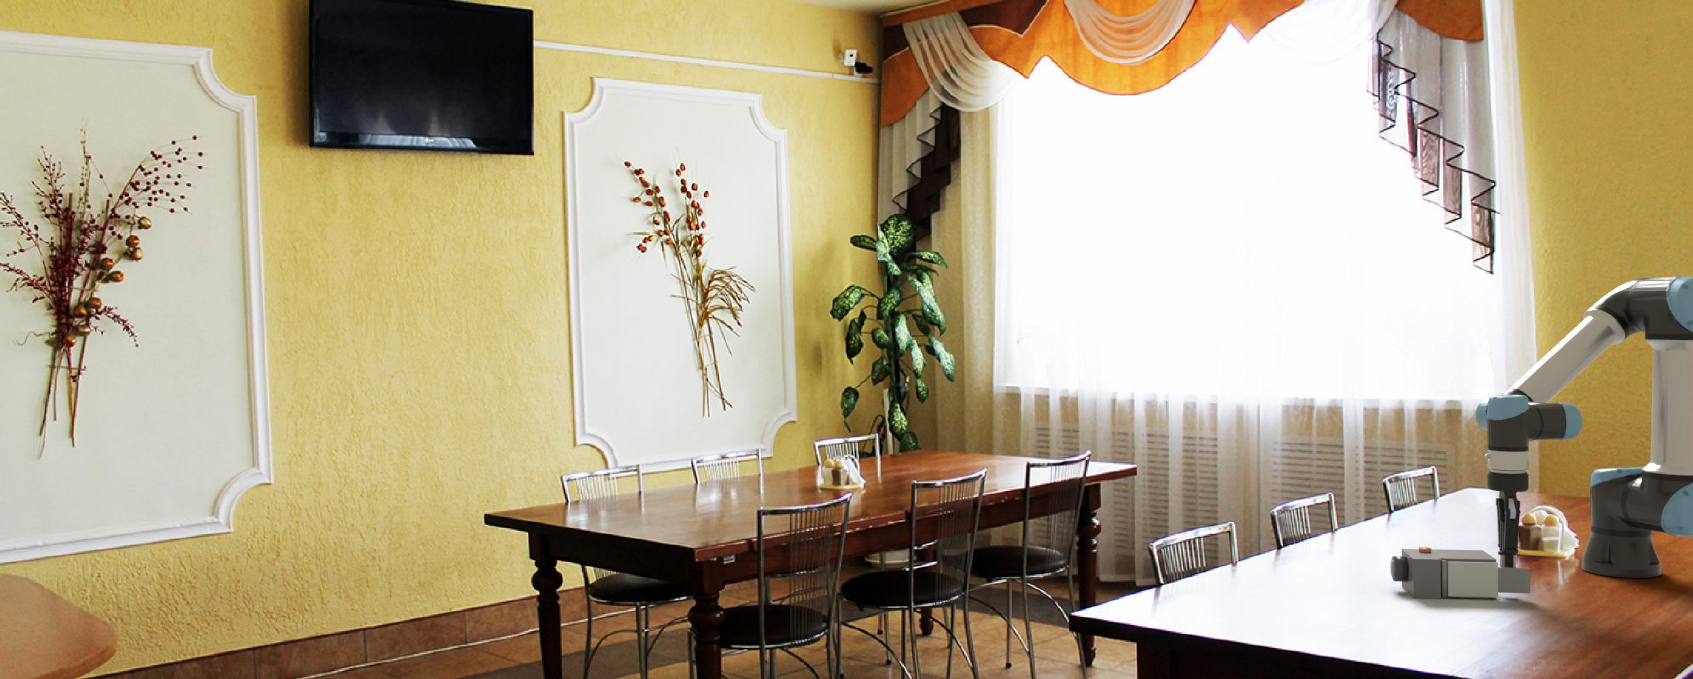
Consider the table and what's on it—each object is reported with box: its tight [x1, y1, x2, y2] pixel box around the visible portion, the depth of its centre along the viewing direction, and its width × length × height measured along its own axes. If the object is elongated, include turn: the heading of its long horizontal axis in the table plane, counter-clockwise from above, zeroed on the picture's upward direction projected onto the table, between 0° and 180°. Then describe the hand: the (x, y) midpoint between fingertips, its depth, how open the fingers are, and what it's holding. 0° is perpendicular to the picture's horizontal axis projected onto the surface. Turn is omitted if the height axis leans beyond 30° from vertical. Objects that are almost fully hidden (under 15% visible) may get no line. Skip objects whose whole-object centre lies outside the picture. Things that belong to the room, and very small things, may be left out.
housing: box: [1389, 546, 1497, 600], centre depth 274 cm, size 19×11×9 cm, turn 79°
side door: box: [1441, 560, 1531, 599], centre depth 268 cm, size 16×1×8 cm, turn 79°
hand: (1508, 585), depth 271 cm, fingers closed
